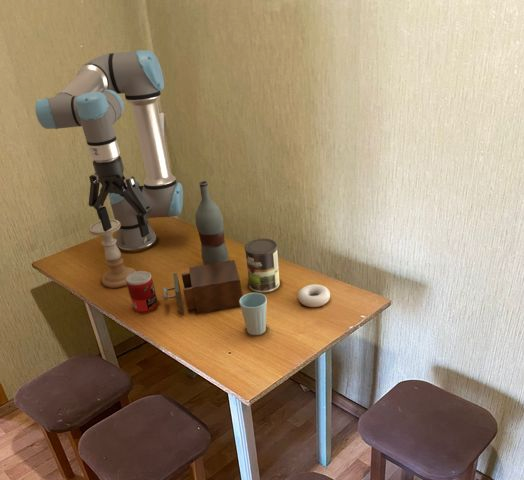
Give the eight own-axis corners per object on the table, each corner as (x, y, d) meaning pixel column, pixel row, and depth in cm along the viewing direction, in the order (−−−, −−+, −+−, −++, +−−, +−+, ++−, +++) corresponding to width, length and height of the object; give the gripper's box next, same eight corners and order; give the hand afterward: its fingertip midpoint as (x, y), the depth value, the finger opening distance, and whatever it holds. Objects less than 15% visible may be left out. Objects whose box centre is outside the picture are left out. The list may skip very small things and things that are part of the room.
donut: (336, 298, 163) (312, 287, 169) (337, 289, 161) (312, 278, 167) (315, 313, 158) (291, 301, 164) (315, 303, 156) (290, 292, 162)
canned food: (153, 313, 165) (145, 283, 159) (130, 312, 167) (121, 283, 160) (161, 300, 171) (154, 270, 164) (139, 299, 173) (131, 270, 166)
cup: (261, 340, 150) (257, 309, 143) (238, 333, 153) (234, 303, 147) (274, 326, 155) (271, 295, 148) (251, 320, 158) (248, 290, 152)
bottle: (213, 275, 181) (199, 190, 162) (198, 266, 187) (183, 183, 168) (234, 264, 185) (223, 181, 167) (219, 256, 191) (207, 174, 173)
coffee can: (265, 296, 168) (261, 256, 159) (242, 286, 173) (237, 248, 165) (286, 282, 173) (284, 243, 164) (263, 273, 179) (259, 235, 170)
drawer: (166, 315, 162) (161, 294, 157) (165, 296, 171) (160, 275, 166) (223, 305, 164) (219, 284, 159) (218, 287, 173) (215, 266, 168)
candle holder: (106, 292, 178) (88, 237, 166) (99, 276, 187) (82, 223, 175) (141, 281, 182) (127, 227, 169) (132, 266, 191) (118, 214, 178)
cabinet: (197, 313, 163) (191, 287, 157) (193, 293, 173) (188, 267, 167) (243, 305, 164) (240, 279, 159) (237, 285, 174) (234, 259, 168)
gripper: (61, 159, 141) (84, 232, 154) (136, 166, 131) (154, 243, 144) (79, 150, 146) (101, 221, 159) (153, 156, 136) (169, 231, 149)
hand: (126, 232), depth 152 cm, fingers open, 13 cm apart
